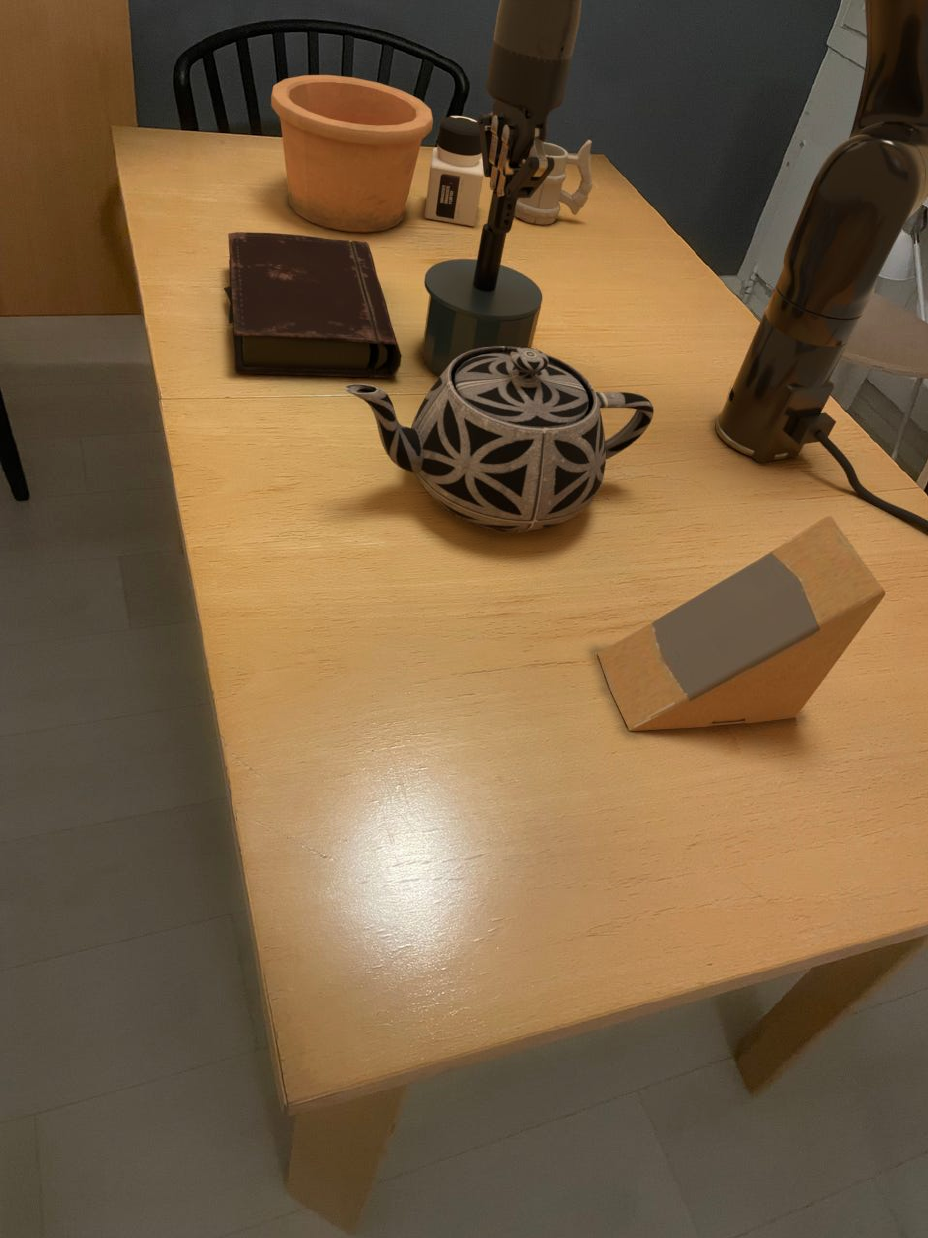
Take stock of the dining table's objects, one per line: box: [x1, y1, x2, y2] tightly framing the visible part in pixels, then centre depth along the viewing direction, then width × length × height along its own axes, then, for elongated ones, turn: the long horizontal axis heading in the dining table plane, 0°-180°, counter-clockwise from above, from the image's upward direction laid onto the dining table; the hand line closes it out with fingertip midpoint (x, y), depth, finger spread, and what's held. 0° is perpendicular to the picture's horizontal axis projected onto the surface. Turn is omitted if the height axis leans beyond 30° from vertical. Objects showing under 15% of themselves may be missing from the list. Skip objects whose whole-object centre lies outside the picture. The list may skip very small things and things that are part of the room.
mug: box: [514, 139, 593, 226], centre depth 135 cm, size 8×12×12 cm, turn 92°
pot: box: [421, 294, 542, 378], centre depth 101 cm, size 12×12×8 cm
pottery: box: [270, 74, 434, 234], centre depth 124 cm, size 22×22×14 cm
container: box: [424, 115, 484, 227], centre depth 130 cm, size 8×8×13 cm
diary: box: [223, 231, 402, 379], centre depth 103 cm, size 19×25×5 cm
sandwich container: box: [597, 515, 886, 732], centre depth 68 cm, size 9×15×15 cm, turn 102°
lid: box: [423, 222, 544, 321], centre depth 96 cm, size 13×13×8 cm
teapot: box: [343, 346, 655, 533], centre depth 82 cm, size 19×31×15 cm, turn 106°
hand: (498, 229), depth 93 cm, fingers closed
